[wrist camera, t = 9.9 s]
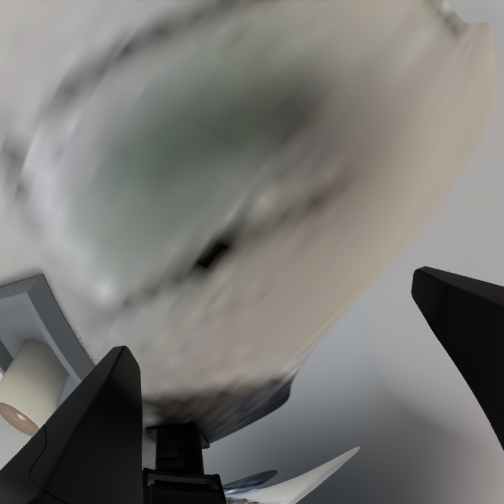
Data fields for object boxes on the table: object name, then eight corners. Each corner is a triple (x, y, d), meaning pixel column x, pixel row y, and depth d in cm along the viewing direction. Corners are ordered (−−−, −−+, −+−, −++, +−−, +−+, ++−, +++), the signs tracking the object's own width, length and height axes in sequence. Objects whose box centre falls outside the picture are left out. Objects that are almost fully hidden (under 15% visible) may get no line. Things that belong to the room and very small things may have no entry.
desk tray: (126, 409, 25) (123, 430, 22) (54, 409, 24) (48, 426, 21) (43, 274, 18) (26, 292, 15) (-24, 294, 17) (-39, 309, 14)
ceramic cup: (79, 381, 22) (60, 444, 15) (41, 382, 22) (20, 436, 14) (48, 337, 20) (16, 400, 12) (12, 341, 19) (-20, 395, 12)
